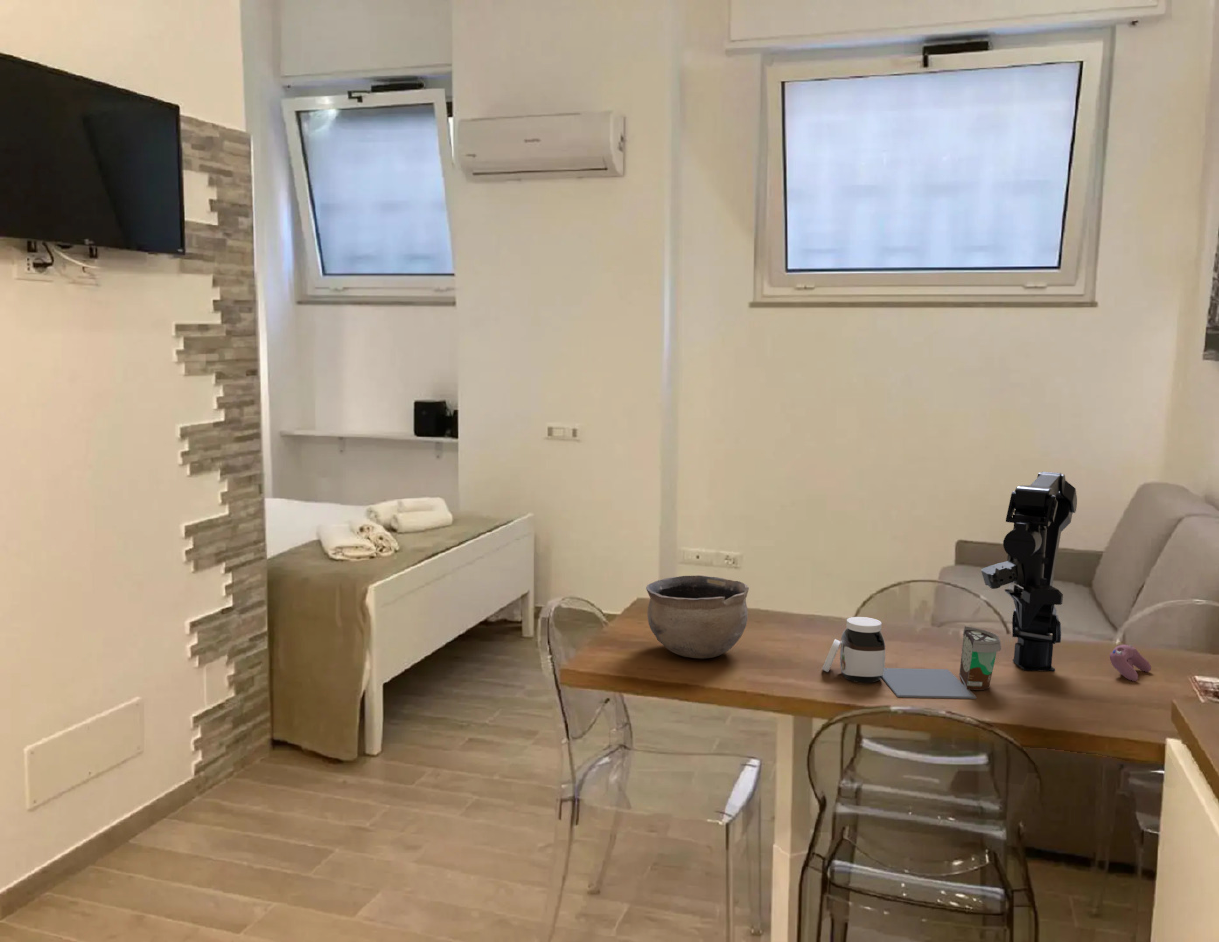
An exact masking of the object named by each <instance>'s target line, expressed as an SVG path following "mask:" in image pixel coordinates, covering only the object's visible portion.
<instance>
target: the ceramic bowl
mask: <svg viewBox="0 0 1219 942" xmlns="http://www.w3.org/2000/svg"><path fill="white" fill-rule="evenodd" d="M749 588H750V587H749V586H748V584H746V583H743V582H741V581H738V580H733V579H726V578H723V577H719V576H718V577H717V576H716V577H714V576H708V575H681V576H671V577H667V578H663V579H658V580H656V581H654V582H650V583H649V584H648V583H647V585H646V588H645V590H646V592H647V594H648V596H649V598H650V599H649V601H648V604H647V605H648V606H647V622H648V626H649V628H650V630H651V632H652V633H653V635H654V636H655V638H656V639H657V641H658V642H660V644H662V646H663V647H665V648H666V649H667V650H668V651H670V652H672V653H673V654H676V655H678V656H681V657H684V658H691V659H711V658H716V657H719V656H721V655H723V654H725V653H726V652H728V651H730V650H731V649H732V648H733V647H734V646H735V645H736V644H737V642H738V641H739V640H740V638H741V637H742V635H743V634H744V632H745V629H746V627H747V624H748V623H747V622H748V615H749V614H748V606H747V601H746V600H747V597H748V592H749V590H750V589H749Z"/></svg>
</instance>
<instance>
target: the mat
mask: <svg viewBox="0 0 1219 942" xmlns="http://www.w3.org/2000/svg"><path fill="white" fill-rule="evenodd" d="M881 679H882V680H883V681H884V683H886V685H887V686H888V687H889V689H890V690H891V691H892V692H893V694H894V695H895V696H896V697H897V698H919V699H920V698H921V699H922V698H924V699H968V700H969V699H972V700H973V699H974V700H975V699H977V696H976V695H975V694H974V693H973V692H972V691H971V690H970V689H966V687H965V685H964V683H963V682H962V681H960V679H958V678H957V677H956V676H955V675H954V674H953V673H952V672H951V671H950V670H949V669H947V668H903V667H902V668H901V667H884V674H883V677H882V678H881Z"/></svg>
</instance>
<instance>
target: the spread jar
mask: <svg viewBox="0 0 1219 942" xmlns="http://www.w3.org/2000/svg"><path fill="white" fill-rule="evenodd" d="M882 624H883V623H882V621H880V620H878V619H876V618H872V617H866V616H852V617H848V618H847V619H846V628H845V629H844V630H843V632H842V634H841V639H840V640H838V639H837V638H835V639H834V640H833V643H832V644H831V646H830V649H829V651H828V653H827V656H826V657H825V658H826V659H825V661H824V663H823V666H822V667H821V670H822V671H824V672H826V673H829V672H830V669H831V667H832V665H833V662H834V659H836V656H837V653H838V650H839V649H840V651H839V655H840V656H839V664H840V665H839V666H840V671H841V674H842V676H843V677H844V678H845V679H846V680H847V681H848V680H849V681H851V682H853V683H861V684H870V683H871V684H872V683H876V682H878V681H880V680H881V679H882V677H883V674H884V668H885V667H886V666H885V664H886V663H885V662H886V642H885V639H884V636H883V634H882V627H883V626H882Z"/></svg>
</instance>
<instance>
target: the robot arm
mask: <svg viewBox="0 0 1219 942" xmlns="http://www.w3.org/2000/svg"><path fill="white" fill-rule="evenodd" d="M1077 506H1078V496H1077V490H1076V487H1074V486H1073V485H1072V484H1071V483H1069V482H1068V480H1067V479H1066V475H1065V474H1063V473H1062V472H1053V471H1052V472H1051V471H1042V472H1038V473H1037V477H1036V479H1035V480H1034V481H1033V482H1031V484H1029V485H1027V484H1026V485H1023V484H1022V485H1017V487H1016V488H1015V490H1012V492H1011V494H1010V499H1009V504H1008V508H1007V513H1006V517H1005V523H1011V524H1012V523H1013V529H1012V530H1010V531H1009V532H1007V534H1006V535H1005V536H1004V539H1003V541H1002V542H1003V543H1002V544H1003V550H1004V551H1005V552H1006V554H1007V557H1006V558H1007V560H1006V561H1003V562H999V563H994V564H991V565H988V566H986V567H983V568H981V569H980V572H981V574H982V575H981V576H982V578H983V582H984V584H985V586H988V587H989V588H990V589H993V590H995V589H999V588H1001V587H1002V586H1006V585H1008V589H1004V592H1005V593H1006V594H1007V595H1008V596H1009V597H1011V598H1012V600H1013V603H1014V610H1013V613H1012V618H1011V619H1012V620H1011V621H1012V622H1011V623H1012V631H1011V632H1012V634H1011V635H1012V636H1011V637H1012V638H1017V640H1016V641H1017V642H1015V643H1014V654H1013V655H1014V656H1013V659H1012V662H1013V663H1014V664H1015V665H1017V666H1018V667H1019V668H1020V669H1022V670H1024V671H1026V672H1030V671H1031V672H1038V671H1039V672H1055V671H1056V668H1055V667H1053V666H1052V664H1053V655H1054V654H1053V652H1054V645H1056V644H1059V643H1060V644H1061V643H1062V623H1061V621H1060V619H1059V615H1058V614H1057V613H1058V612H1057V608H1056V605H1058V606H1060V605H1063V598H1064V594H1063V593H1062V592H1061V591H1060V590H1059V589H1058V588H1056V587H1054V586H1053V583H1054V578H1055V572H1056V566H1057V560H1058V554H1059V553H1058V552H1059V549H1060V548H1059V547H1060V542H1061V535H1062V532H1063V531H1064V530H1065V529H1066V528H1067V527H1068V526H1069V525H1070V524H1071V523H1072V518H1073V514H1076V512H1077Z"/></svg>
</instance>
